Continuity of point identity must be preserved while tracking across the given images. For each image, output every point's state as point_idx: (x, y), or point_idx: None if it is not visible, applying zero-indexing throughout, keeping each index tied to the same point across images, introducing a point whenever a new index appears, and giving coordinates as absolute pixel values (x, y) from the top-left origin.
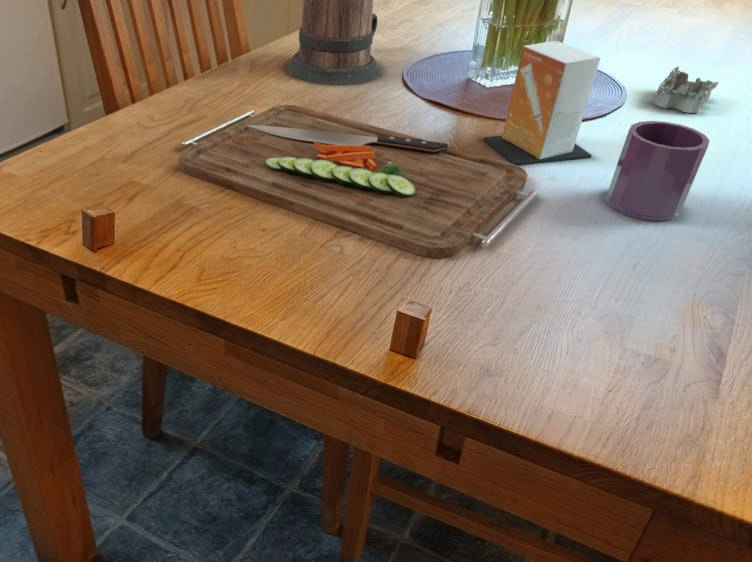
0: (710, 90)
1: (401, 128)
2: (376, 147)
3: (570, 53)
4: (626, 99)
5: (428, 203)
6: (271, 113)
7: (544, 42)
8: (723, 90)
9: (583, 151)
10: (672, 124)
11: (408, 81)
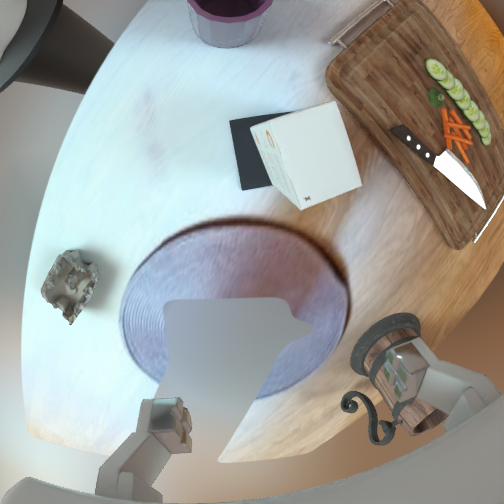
0: (51, 269)
1: (393, 211)
2: (433, 151)
3: (311, 139)
4: (124, 290)
5: (418, 46)
6: (470, 232)
7: (326, 199)
8: (36, 308)
9: (235, 130)
10: (207, 13)
11: (340, 328)
